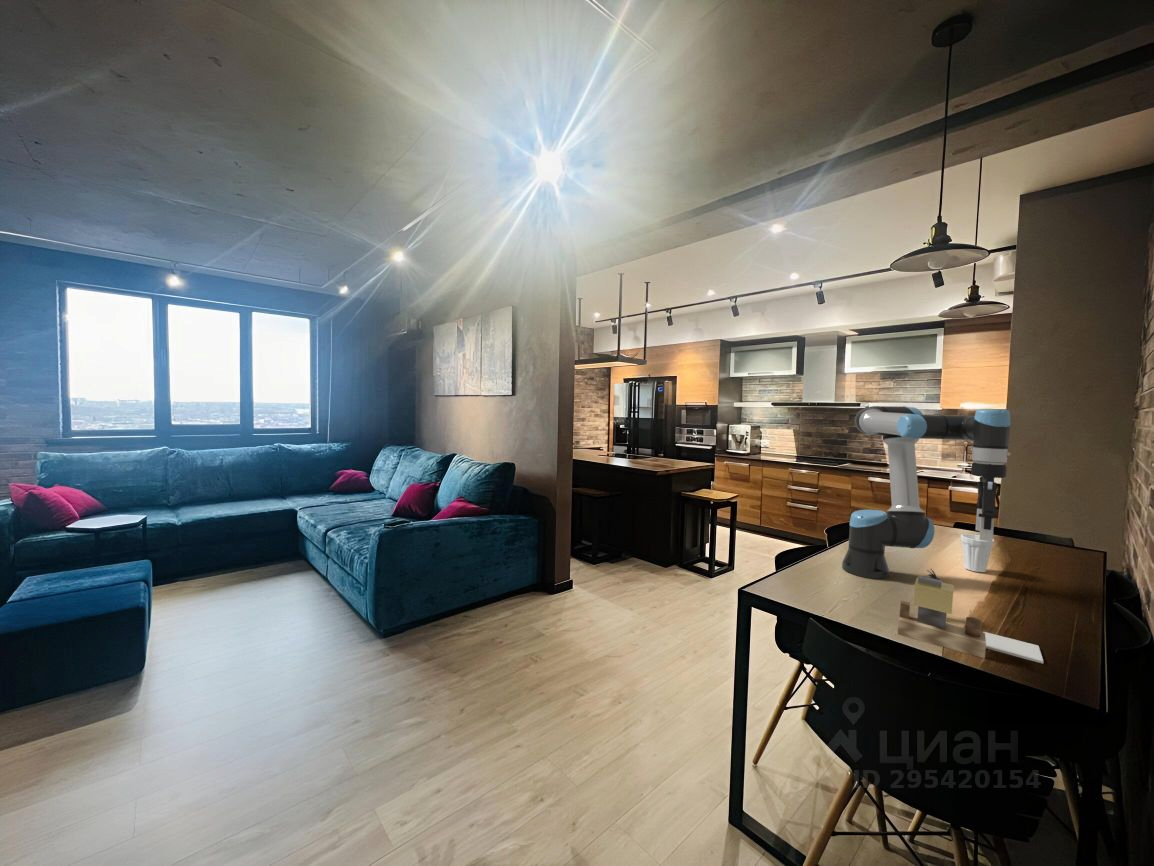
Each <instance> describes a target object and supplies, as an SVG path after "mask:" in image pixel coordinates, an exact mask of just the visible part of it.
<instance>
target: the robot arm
mask: <svg viewBox="0 0 1154 866" xmlns="http://www.w3.org/2000/svg"><path fill="white" fill-rule="evenodd" d="M854 425H855V427H856V429H857V430H858V431H859V432H861V433H863V434H865V435H870V436H881V437H882V442H883V443H884V444H886V445H887V455H888V470H889V483H890V484H889V485H890V498H891V507H889V509H887V512H885V511H884V510H879V509H878V510H877V509H859V510H855V511H854V512H852V513H851V515H850V520H849V523H848V524H849V533H848V534H849V535H848V547H847V548H848V549H847V551H846V554H845V555H844V558H843V559H842V562H841V568H842V570H843V571H845V572H847V573H849V574H851V575H854V576H857V577H862V578H868V579H875V580H876V579H878V580H881V579H887V578H888V577H890V569H889V566H888V562H887V559H886V555H885V551H886V550H885V549H886V548H885V547H892V548H893V547H894V548H908V549H924V548H926V547H928V546H929V545H931V543H932V542H933V540H934V537H935V524H934V523H933V521H932V519H931V518H929V517H928V516H926V511H925V510H923V509H922V508H921V507H920V497H919V494H920V493H919V485H918V468H917V458H916V444H917V443H918V442H919V441H920V439H921V440H922V439H926V440H930V439H931V440H952V441H953V440H955V441H956V440H957V441H973V442H972V452H971V460H972V461H973V462H972V463H971V467H970V468H971V470H970V474H971V475H972V476H975V477H979V481H978V482H977V493H978V494H977V502H976V507H977V508H976V518H975V519H976V520H975V521H976V522H975V531H978V532H979V535H980V536H979V540H983V541H990V542H993V539H994V529H995V528H994V527H995V526H994V524H995V518H996V517H997V515H996V497H997V490H998V484H997V482H996V481H995V479H1003V478H1004V479H1005V478H1006V477H1007V469H1008V466H1007V465H1006V463H1007V462H1008V457H1010V456H1011V452H1009V451H1008V449H1009V442H1010V433H1011V431H1010V430H1011V425H1012V423H1011V412H1010V411H1009V410H1008V409H993V408H992V409H991V408H988V409H984V408H982V409H981V408H979V409H976V411H975V414H974V415H966V414H964V415H963V414H962V415H961V414H960V415H959V414H958V415H952V414H949V415H948V414H946V415H945V414H923V412H922V411H921V410H920V409H918V408H916V407H913V406H912V407H911V406H906V405H905V406H903V405H902V406H893V405H892V406H885V405H884V406H883V405H880V406H879V405H872V406H867V407H864V408H862V409H860V410H859V411H858V412H857V413H856V415H855V417H854Z"/></svg>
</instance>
